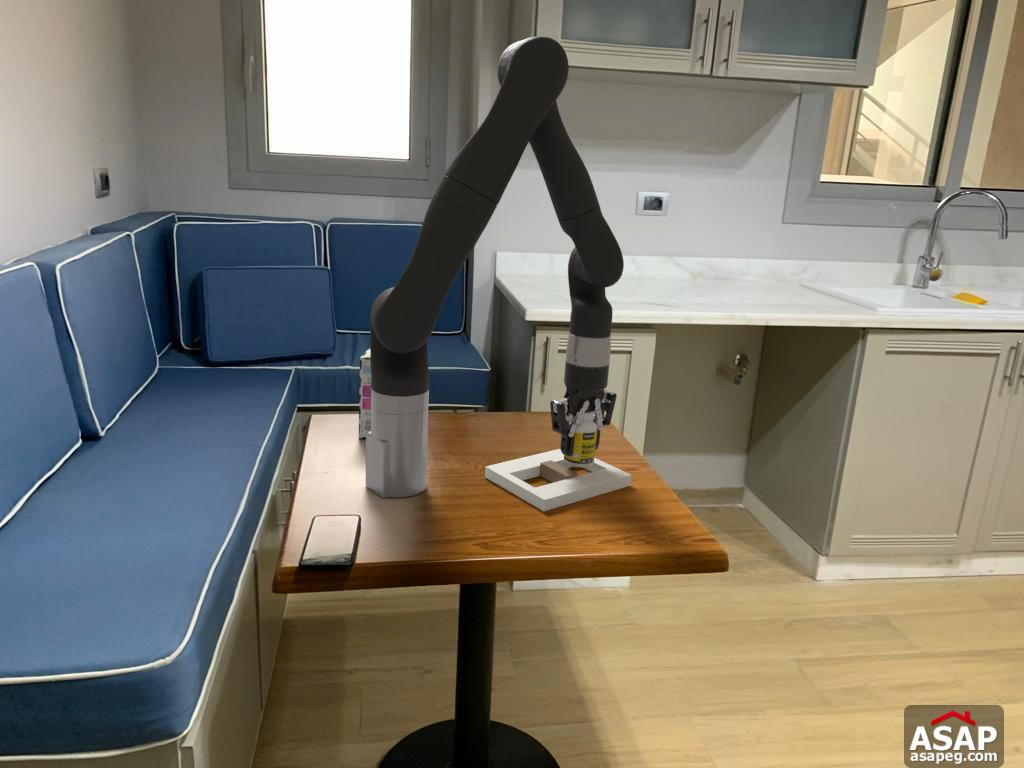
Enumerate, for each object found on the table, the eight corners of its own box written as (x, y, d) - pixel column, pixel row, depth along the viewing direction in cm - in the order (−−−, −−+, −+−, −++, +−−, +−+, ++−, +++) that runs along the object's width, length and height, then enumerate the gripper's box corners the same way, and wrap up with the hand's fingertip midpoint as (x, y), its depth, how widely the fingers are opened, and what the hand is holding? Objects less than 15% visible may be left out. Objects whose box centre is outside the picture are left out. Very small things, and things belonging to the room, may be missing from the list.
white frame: (543, 511, 124) (544, 497, 123) (484, 477, 136) (485, 463, 135) (630, 485, 136) (631, 472, 135) (569, 456, 148) (570, 443, 147)
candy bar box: (383, 441, 150) (384, 359, 145) (357, 439, 150) (358, 357, 146) (393, 422, 161) (395, 345, 156) (369, 421, 161) (370, 344, 156)
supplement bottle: (581, 470, 134) (586, 417, 132) (557, 461, 138) (561, 409, 135) (600, 463, 138) (605, 410, 136) (576, 454, 142) (580, 403, 139)
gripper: (571, 369, 126) (563, 466, 131) (632, 360, 134) (623, 451, 139) (541, 359, 131) (535, 452, 136) (602, 350, 140) (594, 438, 145)
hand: (579, 451), depth 138 cm, fingers closed on supplement bottle, 5 cm apart
